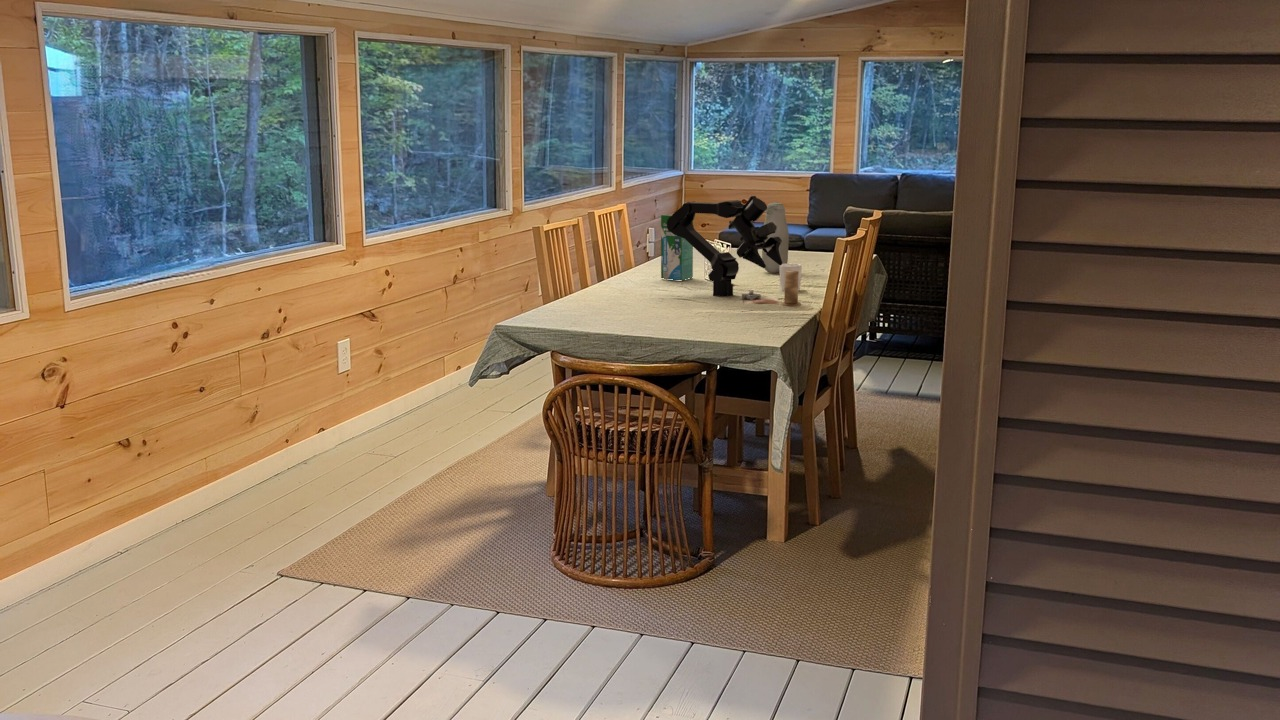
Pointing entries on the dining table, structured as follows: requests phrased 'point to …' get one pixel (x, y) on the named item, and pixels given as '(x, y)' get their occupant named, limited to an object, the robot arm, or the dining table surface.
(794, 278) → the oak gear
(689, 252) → the milk carton
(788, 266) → the white cup
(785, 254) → the grey bottle
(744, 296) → the metal gear
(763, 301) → the gear board
